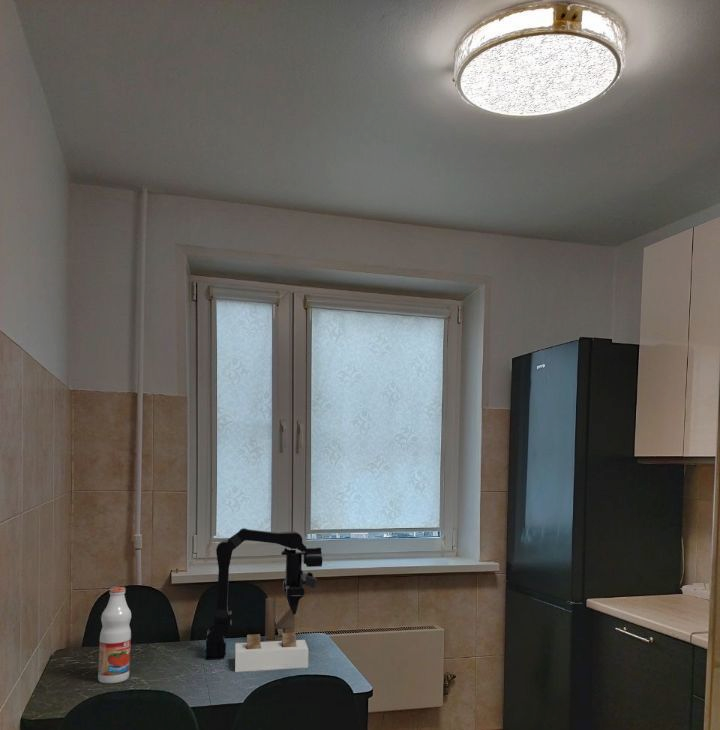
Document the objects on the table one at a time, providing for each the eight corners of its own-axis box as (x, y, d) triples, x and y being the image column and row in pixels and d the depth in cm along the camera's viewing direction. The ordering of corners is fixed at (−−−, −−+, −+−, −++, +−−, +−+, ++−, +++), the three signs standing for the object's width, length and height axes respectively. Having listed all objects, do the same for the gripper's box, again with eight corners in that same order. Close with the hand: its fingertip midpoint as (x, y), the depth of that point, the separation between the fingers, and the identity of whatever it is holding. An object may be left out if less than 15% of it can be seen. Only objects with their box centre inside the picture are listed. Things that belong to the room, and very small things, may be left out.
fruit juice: (114, 673, 221) (118, 584, 225) (135, 677, 216) (139, 586, 220) (91, 681, 213) (95, 589, 217) (112, 685, 208) (116, 591, 212)
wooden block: (294, 648, 250) (294, 597, 252) (265, 651, 246) (266, 599, 249) (291, 645, 253) (292, 595, 256) (263, 648, 249) (264, 597, 252)
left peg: (246, 654, 226) (247, 638, 227) (246, 651, 231) (247, 634, 231) (260, 654, 227) (260, 637, 228) (259, 650, 231) (259, 634, 232)
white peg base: (235, 671, 221) (235, 652, 222) (235, 661, 233) (235, 643, 234) (308, 667, 226) (308, 648, 227) (304, 657, 237) (304, 639, 238)
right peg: (282, 652, 229) (283, 636, 229) (281, 649, 233) (282, 633, 234) (295, 652, 229) (296, 635, 230) (294, 648, 234) (294, 632, 234)
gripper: (318, 570, 240) (318, 616, 237) (312, 562, 258) (312, 605, 256) (287, 571, 238) (286, 617, 235) (283, 563, 256) (282, 606, 253)
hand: (293, 611), depth 245 cm, fingers open, 9 cm apart
